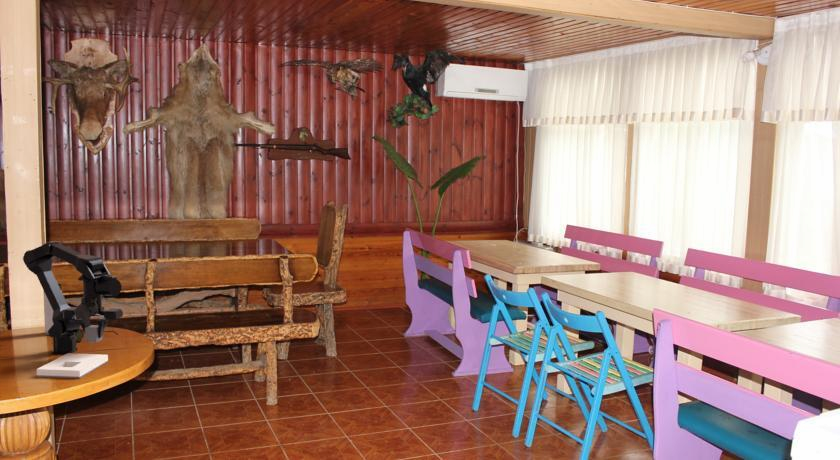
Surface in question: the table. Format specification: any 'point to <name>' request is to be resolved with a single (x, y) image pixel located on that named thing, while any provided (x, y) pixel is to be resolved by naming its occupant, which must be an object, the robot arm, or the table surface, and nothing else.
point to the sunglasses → (81, 334)
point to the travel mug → (48, 313)
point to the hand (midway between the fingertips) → (93, 337)
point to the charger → (92, 334)
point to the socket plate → (72, 365)
